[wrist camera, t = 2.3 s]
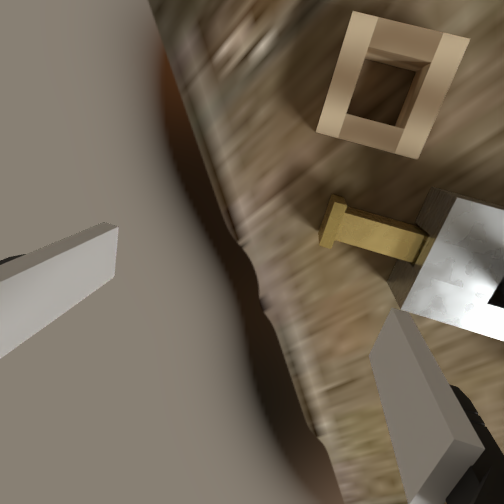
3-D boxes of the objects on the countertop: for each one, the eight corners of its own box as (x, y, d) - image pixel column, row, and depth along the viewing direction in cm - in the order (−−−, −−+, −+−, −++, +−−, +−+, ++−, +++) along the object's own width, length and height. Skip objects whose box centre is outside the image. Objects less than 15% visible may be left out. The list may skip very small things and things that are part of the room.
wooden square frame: (347, 27, 28) (353, 11, 25) (449, 51, 28) (470, 38, 24) (315, 132, 32) (315, 131, 28) (405, 156, 31) (417, 159, 27)
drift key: (331, 193, 33) (334, 201, 29) (432, 222, 32) (449, 234, 28) (318, 232, 35) (319, 245, 31) (413, 260, 34) (427, 277, 30)
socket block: (431, 186, 31) (457, 197, 26) (577, 226, 30) (637, 247, 25) (387, 282, 36) (400, 309, 30) (514, 320, 34) (552, 356, 29)
